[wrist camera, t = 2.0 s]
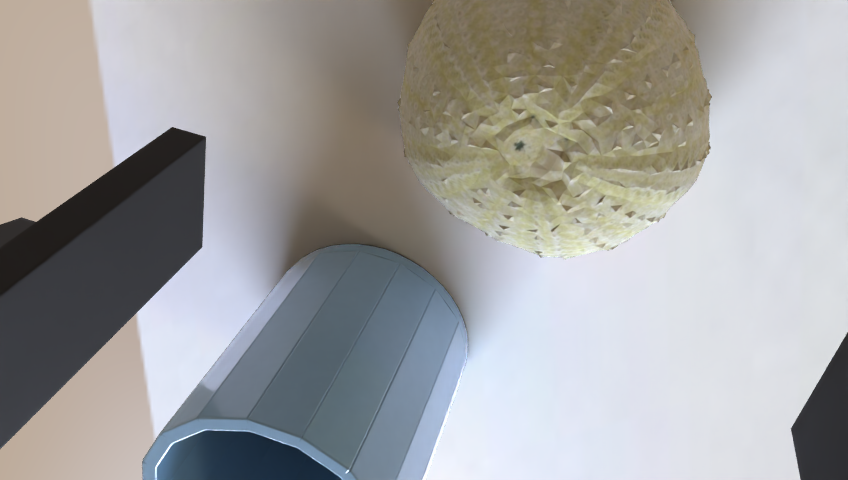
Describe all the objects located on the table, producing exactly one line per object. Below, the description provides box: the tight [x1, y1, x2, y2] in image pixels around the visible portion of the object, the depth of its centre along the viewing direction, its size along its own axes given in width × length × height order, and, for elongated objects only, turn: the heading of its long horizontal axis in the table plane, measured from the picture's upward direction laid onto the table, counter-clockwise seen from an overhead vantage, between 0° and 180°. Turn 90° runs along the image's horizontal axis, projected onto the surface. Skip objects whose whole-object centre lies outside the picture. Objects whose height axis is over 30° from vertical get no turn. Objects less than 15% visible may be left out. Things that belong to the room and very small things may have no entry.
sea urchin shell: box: [398, 0, 712, 260], centre depth 24 cm, size 9×8×8 cm
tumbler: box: [142, 244, 468, 480], centre depth 28 cm, size 8×8×10 cm
